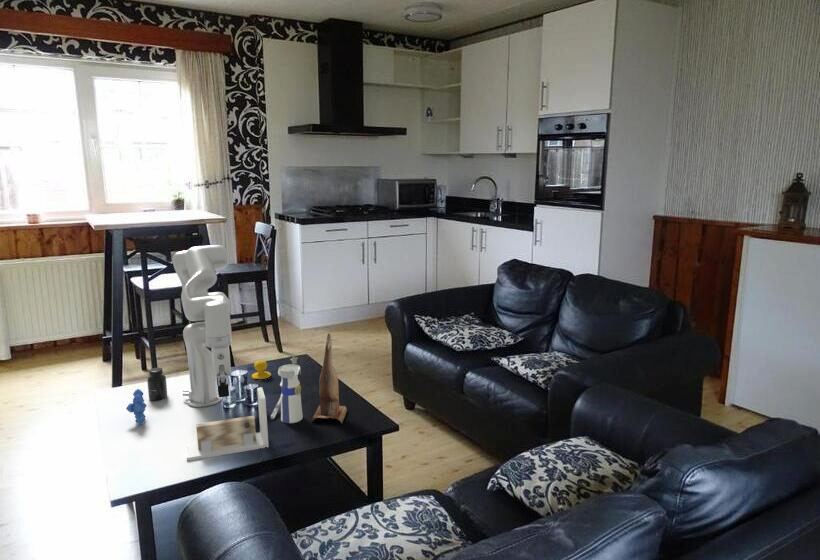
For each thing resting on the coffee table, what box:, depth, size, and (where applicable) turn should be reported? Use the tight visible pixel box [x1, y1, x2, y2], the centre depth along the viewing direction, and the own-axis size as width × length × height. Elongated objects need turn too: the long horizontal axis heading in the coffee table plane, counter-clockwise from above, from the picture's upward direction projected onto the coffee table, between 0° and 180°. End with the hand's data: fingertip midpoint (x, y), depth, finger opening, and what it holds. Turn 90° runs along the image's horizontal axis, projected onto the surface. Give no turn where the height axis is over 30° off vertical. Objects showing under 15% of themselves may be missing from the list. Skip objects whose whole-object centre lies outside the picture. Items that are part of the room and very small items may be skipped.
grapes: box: [125, 388, 147, 425], centre depth 210 cm, size 12×7×12 cm, turn 24°
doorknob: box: [251, 359, 272, 380], centre depth 254 cm, size 8×8×8 cm
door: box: [195, 415, 257, 450], centre depth 191 cm, size 18×3×8 cm, turn 110°
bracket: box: [270, 396, 281, 420], centre depth 223 cm, size 3×21×10 cm, turn 173°
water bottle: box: [277, 355, 303, 424], centre depth 210 cm, size 8×9×25 cm
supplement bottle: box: [146, 367, 168, 402], centre depth 232 cm, size 7×7×12 cm
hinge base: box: [186, 386, 270, 461], centre depth 190 cm, size 25×10×17 cm, turn 110°
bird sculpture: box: [311, 332, 348, 424], centre depth 210 cm, size 11×12×32 cm
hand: (223, 390), depth 188 cm, fingers open, 9 cm apart
